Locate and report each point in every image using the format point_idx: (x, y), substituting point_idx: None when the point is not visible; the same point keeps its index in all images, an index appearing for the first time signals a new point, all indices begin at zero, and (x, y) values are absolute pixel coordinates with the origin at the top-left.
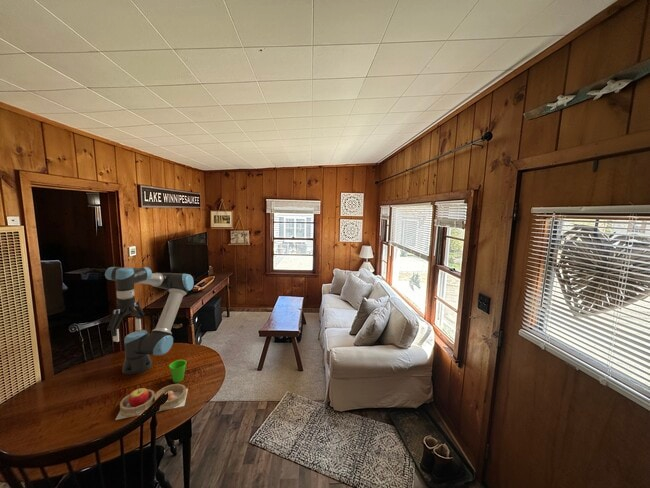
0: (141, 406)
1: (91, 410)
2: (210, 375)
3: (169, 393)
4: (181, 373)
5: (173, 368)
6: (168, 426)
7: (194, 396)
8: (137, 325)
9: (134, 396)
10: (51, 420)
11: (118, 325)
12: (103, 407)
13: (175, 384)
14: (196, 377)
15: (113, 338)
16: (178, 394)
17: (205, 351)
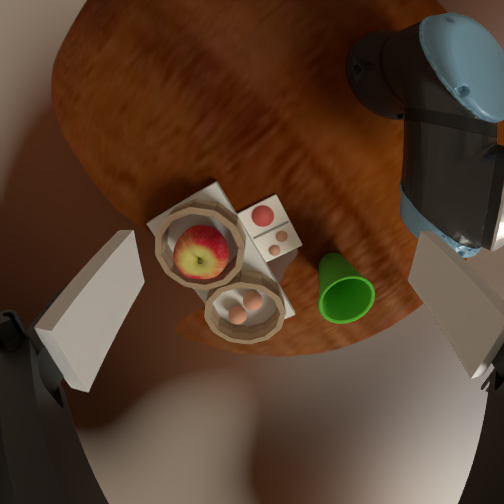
0: (178, 281)
1: (164, 114)
2: (359, 324)
3: (247, 308)
4: (329, 300)
5: (319, 305)
6: (180, 333)
7: None
8: (441, 286)
9: (178, 265)
10: (115, 56)
11: (72, 435)
12: (181, 135)
13: (281, 307)
14: None
15: (105, 251)
16: (268, 307)
17: None
